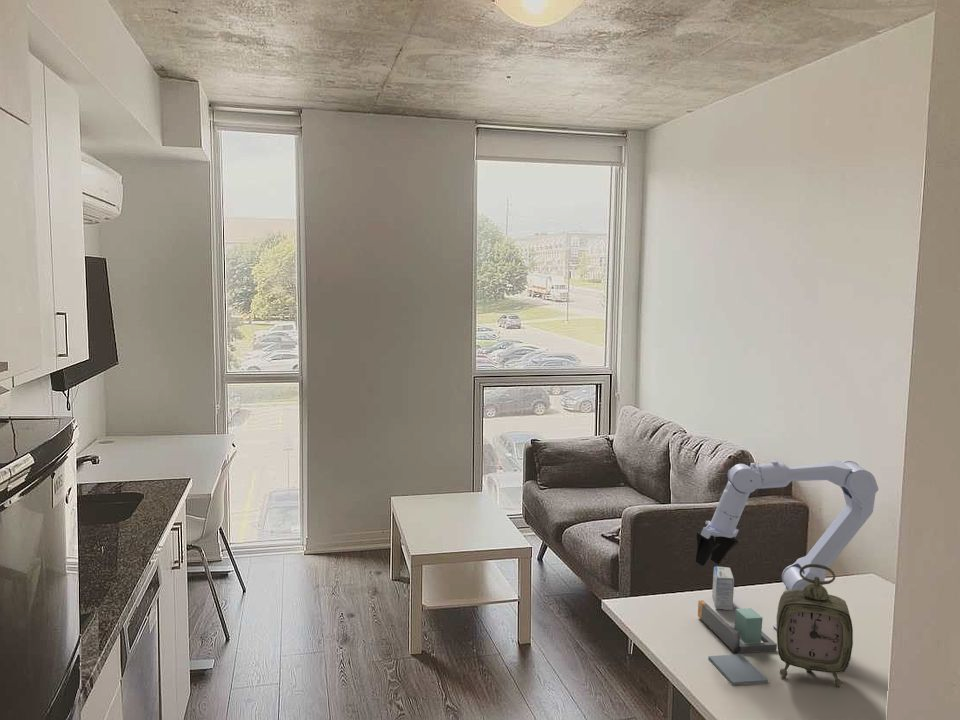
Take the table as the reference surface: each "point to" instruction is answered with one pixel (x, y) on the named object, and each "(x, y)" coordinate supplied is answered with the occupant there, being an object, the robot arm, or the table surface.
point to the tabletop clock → (814, 629)
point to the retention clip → (719, 626)
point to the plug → (748, 625)
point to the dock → (758, 645)
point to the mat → (737, 669)
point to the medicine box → (723, 588)
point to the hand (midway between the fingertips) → (707, 562)
